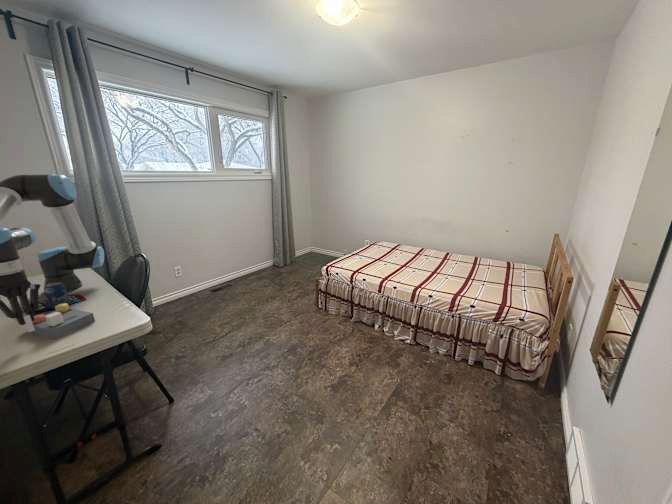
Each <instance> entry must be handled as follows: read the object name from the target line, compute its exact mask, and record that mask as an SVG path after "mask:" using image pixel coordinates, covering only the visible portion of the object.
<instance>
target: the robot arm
mask: <svg viewBox="0 0 672 504" xmlns="http://www.w3.org/2000/svg"><path fill="white" fill-rule="evenodd" d="M77 197H78V192H77V188H76V186H75V184H74V183H73V181H72V180H71V179H70V177H67V176H66V175H64V174H54V173H53V174H52V173H51V174H18V175H13V176H10V177H7V178H5V179H2V180H1V181H0V225H1V224H2V223H3V222H4V220H5V219H6V218H7V216H8V215H9V214H10V213H11V211H12V210H13V209H14V207H18V206H19V205H21V204H22V203H23V202H30V201H32V202H34V201H37V202H39V201H40V202H41V204H42V206H43V207H44V208H49V210H50V212H51V214H52V215H53V218H54V219H55V221H56V223H57V225H58V227H59V229H60V230H61V232H62V234H63V235H64V237H65V239H66V241H67V243H68V245H69V247H67V246H58V247H53V248H47V249H46V250H42V251H40V252H38V253H37V261H38V263H39V265H40V266H39V267H40V268H41V271H42V274H43V277H44V284H43V289H44V288H45V285H46V284H49V283H53V282H62V283H63V284H64V285H65V288H66V291H67V293H68V292H72V291H74V290H78V289H80V288H81V287H82V286H83V282H82V280H81V279H80V278H79V276H78V275H77V274H76V273H75V271H74V270H76V271H77V270H82V269H83V270H84V269H94V268H98V267H102V266H103V264H104V262H105V250H104V248H103V247H102V246H97V244H96V243H95V242H94V241H92V240H91V239H90V237H89V235H88V233H87V231H86V229H85V227H84V225H83V223H82V220H81V218H80V215H79V214H78V212H77V209H76V208H75V206H74V204H75V201H76V199H77ZM36 240H37V235H36V233H35V232H34V231H33V230H32V229H31V228H27V227H23V226H22V227H21V226H19V227H12V228H11V229H10V228H7V227H0V311H1V312H2V313H3V314H4V315H5V316H6V317H7V318H10V319H16V320H17V323H18V325H20V326H23V329H24V331H25V332H27V333H31V332H32V331H34V330H35V329H34V326H33V323H32V321H34V320H35V319H34V316H35V315H34V314H35V311H38V310H39V290H40V288H41V284H39V283H32V282H31V281H29V280H28V277H27V274H26V271H25V270H24V266H23V263H22V261H21V258H20V255H19V252H18V251H21V250H22V249H25V248H28V247H30V246H31V245H33V244H34V243H35V242H36ZM28 291H29V294H30V295H29V299H28V294H27V292H28ZM43 291H44V290H43ZM44 293H45V291H44ZM1 296H3V297H5V298H6V299H7V300H8V303H9V304H10V307H11V309H10V308H9V306H8V305H6V303H5V302H4V301H3V300H2V297H1ZM18 299H19V301H18ZM19 302H20V303H19ZM20 305H21V306H20ZM21 307H22V308H21ZM22 310H23V311H22ZM23 312H24V313H23Z"/></svg>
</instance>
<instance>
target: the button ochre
mask: <svg viewBox="0 0 672 504" xmlns="http://www.w3.org/2000/svg"><path fill="white" fill-rule="evenodd" d="M69 308H70V307H69V305H68V303H63V304H59V305H56V306H55V309H54V310H55V311H56V312H59V313H65V312H68V311H69V310H70V309H69Z"/></svg>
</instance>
